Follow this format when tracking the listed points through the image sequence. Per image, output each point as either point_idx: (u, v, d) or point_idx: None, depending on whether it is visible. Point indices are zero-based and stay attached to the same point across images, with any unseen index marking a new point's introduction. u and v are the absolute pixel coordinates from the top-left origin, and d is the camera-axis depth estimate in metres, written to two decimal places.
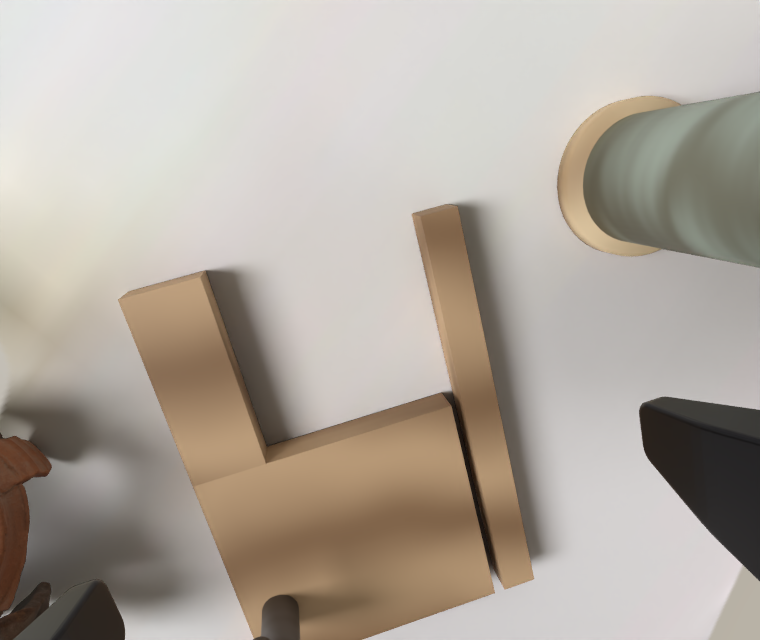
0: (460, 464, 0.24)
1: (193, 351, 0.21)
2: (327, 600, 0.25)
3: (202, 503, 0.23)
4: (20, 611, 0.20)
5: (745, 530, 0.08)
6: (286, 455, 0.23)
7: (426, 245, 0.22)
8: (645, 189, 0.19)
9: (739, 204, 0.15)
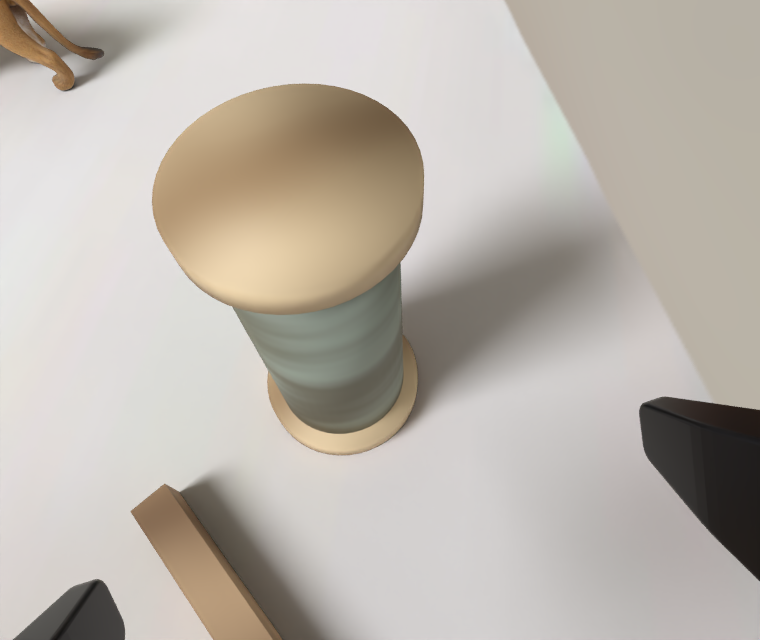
0: None
1: None
2: None
3: None
4: None
5: (745, 530, 0.08)
6: None
7: (147, 536, 0.20)
8: None
9: (242, 321, 0.16)
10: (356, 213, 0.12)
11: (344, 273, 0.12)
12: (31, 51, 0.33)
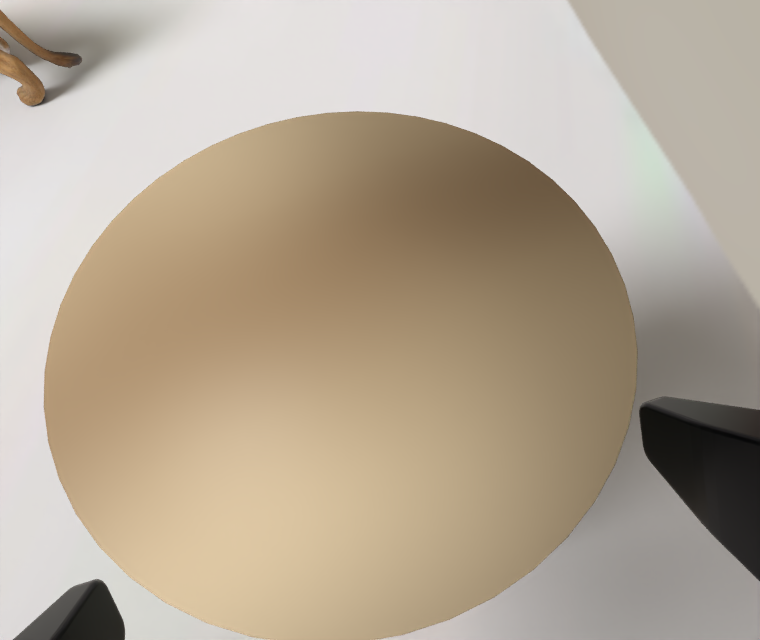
0: None
1: None
2: None
3: None
4: None
5: (745, 530, 0.08)
6: None
7: None
8: None
9: None
10: (496, 410, 0.06)
11: (490, 586, 0.05)
12: None
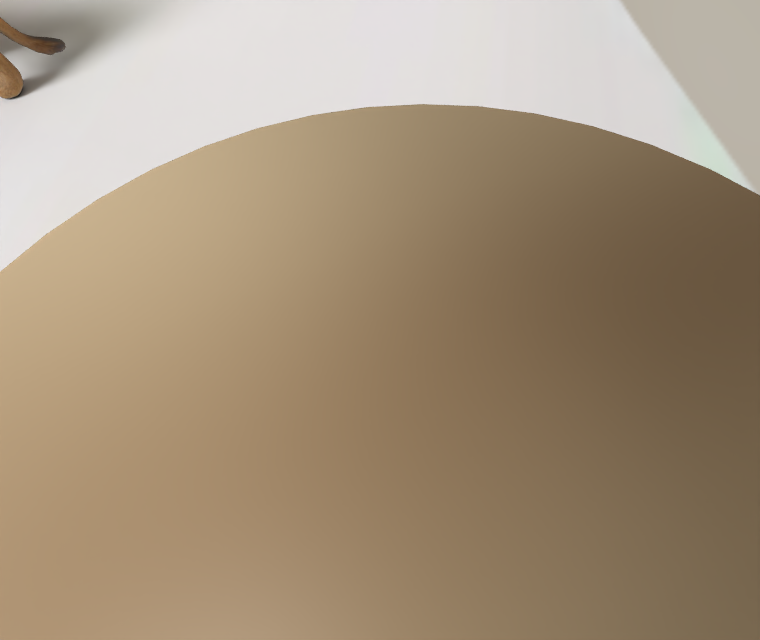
0: None
1: None
2: None
3: None
4: None
5: None
6: None
7: None
8: None
9: None
10: None
11: None
12: None
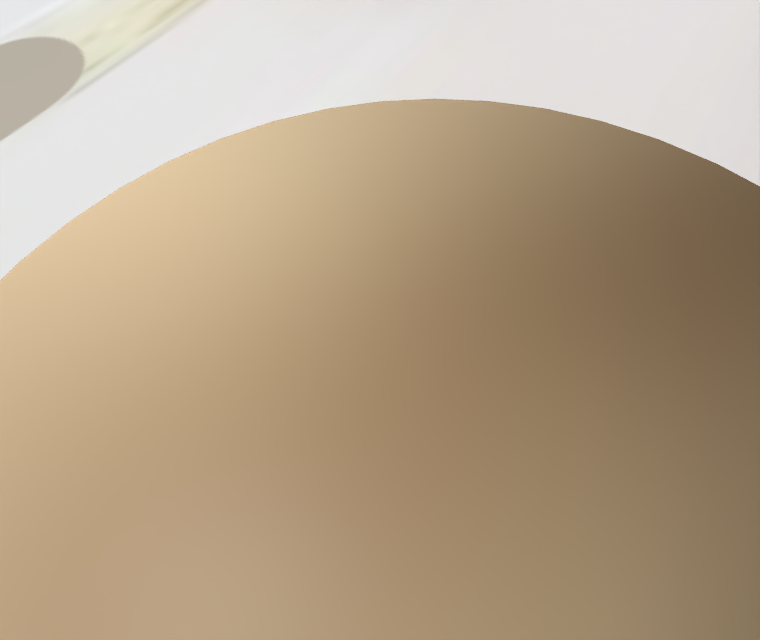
0: None
1: None
2: None
3: None
4: None
5: None
6: None
7: None
8: None
9: None
10: None
11: None
12: None
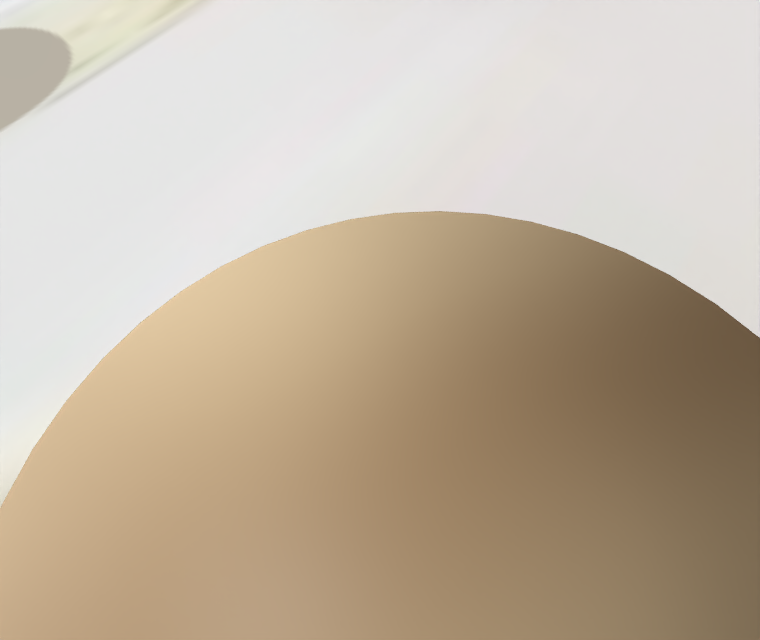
0: None
1: None
2: None
3: None
4: None
5: None
6: None
7: None
8: None
9: None
10: None
11: None
12: None
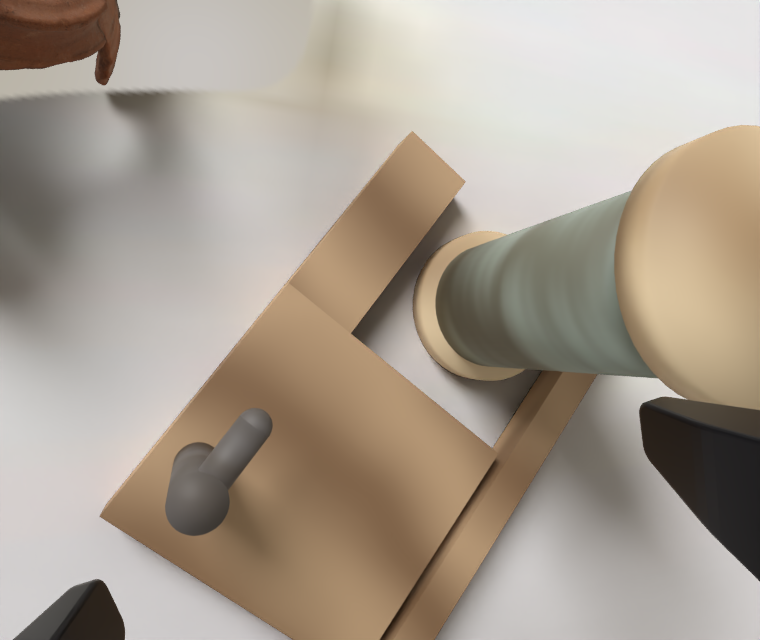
0: (457, 509, 0.22)
1: (409, 210, 0.22)
2: (239, 505, 0.20)
3: (276, 302, 0.20)
4: None
5: (745, 530, 0.08)
6: (366, 347, 0.22)
7: None
8: (487, 269, 0.19)
9: (557, 261, 0.15)
10: None
11: (718, 394, 0.12)
12: None
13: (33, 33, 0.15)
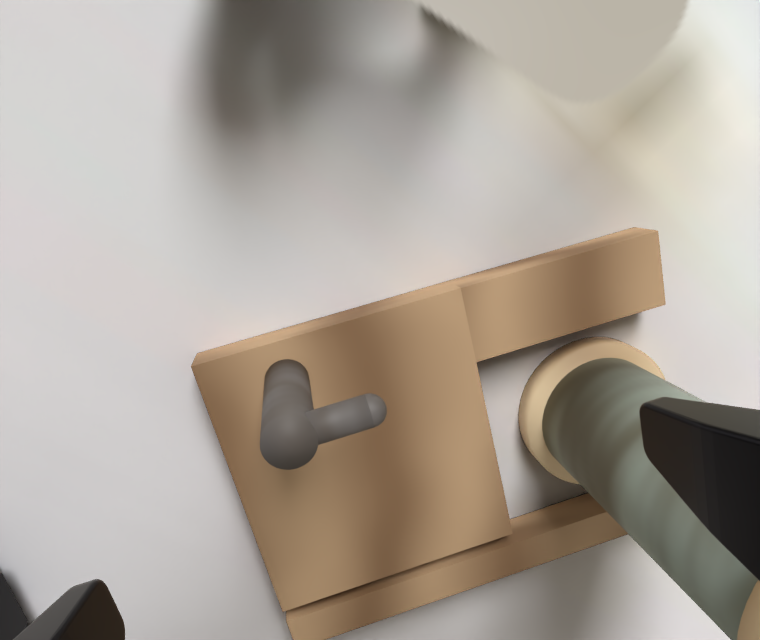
0: (449, 550, 0.23)
1: (600, 295, 0.21)
2: None
3: (439, 296, 0.20)
4: None
5: (745, 530, 0.08)
6: (478, 380, 0.22)
7: None
8: (634, 408, 0.19)
9: None
10: None
11: None
12: None
13: None
